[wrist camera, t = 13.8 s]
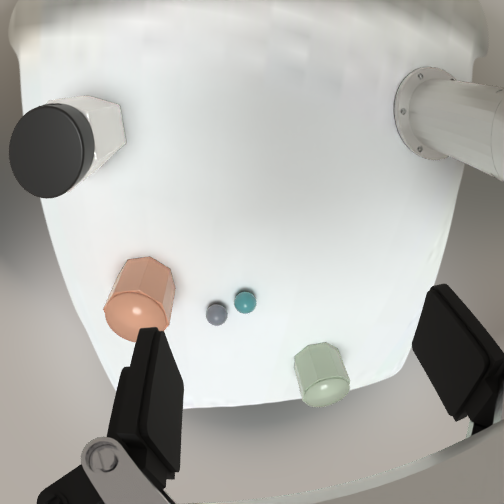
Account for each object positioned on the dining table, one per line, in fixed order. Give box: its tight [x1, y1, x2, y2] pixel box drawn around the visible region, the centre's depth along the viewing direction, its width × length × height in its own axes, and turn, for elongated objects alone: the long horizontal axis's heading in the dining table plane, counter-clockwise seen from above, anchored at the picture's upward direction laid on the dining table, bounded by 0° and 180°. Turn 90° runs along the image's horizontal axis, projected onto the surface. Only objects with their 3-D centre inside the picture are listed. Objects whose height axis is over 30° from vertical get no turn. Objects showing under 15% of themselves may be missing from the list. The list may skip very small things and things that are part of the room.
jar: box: [9, 96, 126, 198], centre depth 26 cm, size 9×8×12 cm
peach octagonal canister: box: [103, 257, 175, 342], centre depth 38 cm, size 8×8×8 cm
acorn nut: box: [295, 342, 350, 407], centre depth 49 cm, size 8×8×8 cm
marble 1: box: [206, 304, 227, 326], centre depth 43 cm, size 3×3×3 cm
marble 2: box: [234, 292, 256, 314], centre depth 43 cm, size 3×3×3 cm
